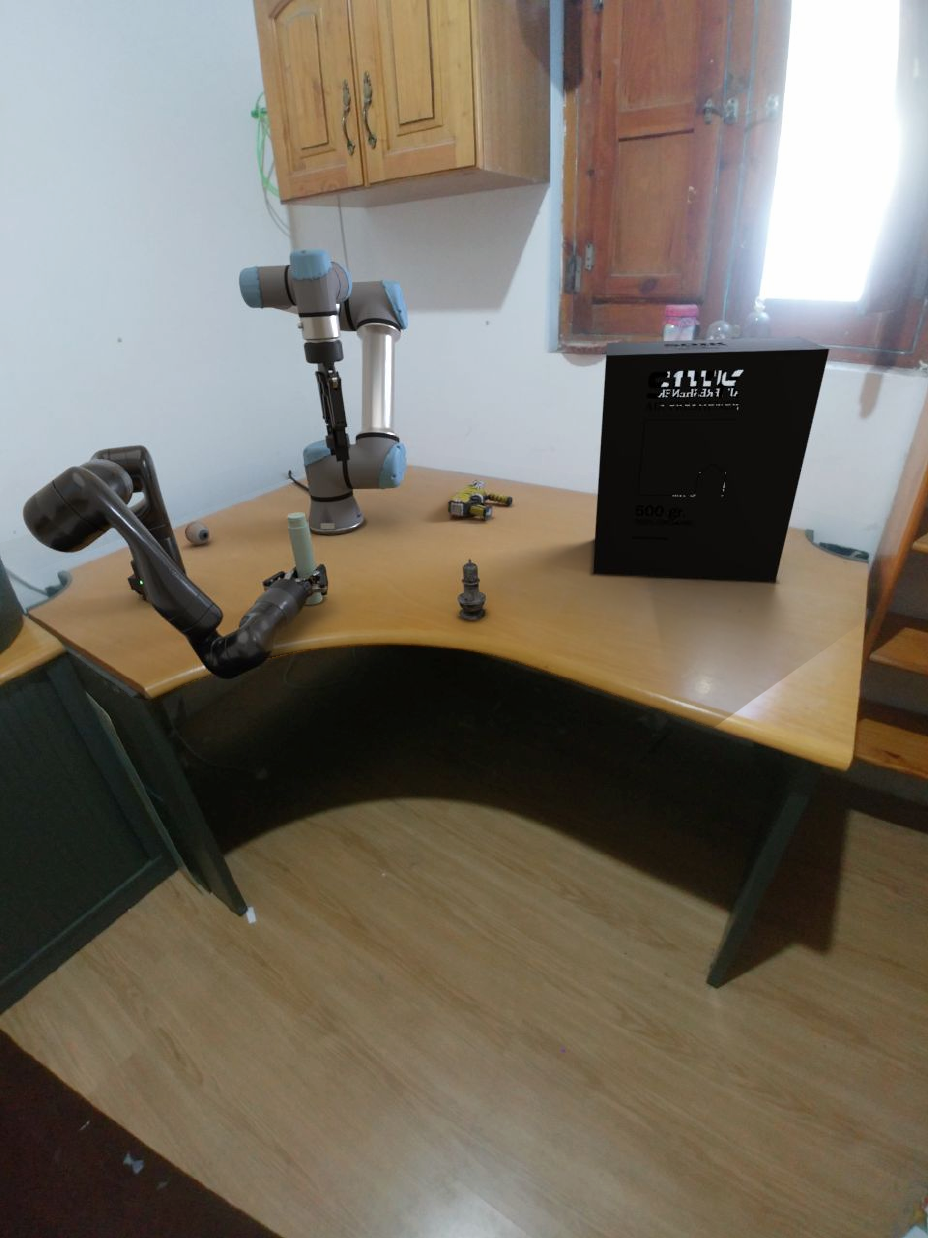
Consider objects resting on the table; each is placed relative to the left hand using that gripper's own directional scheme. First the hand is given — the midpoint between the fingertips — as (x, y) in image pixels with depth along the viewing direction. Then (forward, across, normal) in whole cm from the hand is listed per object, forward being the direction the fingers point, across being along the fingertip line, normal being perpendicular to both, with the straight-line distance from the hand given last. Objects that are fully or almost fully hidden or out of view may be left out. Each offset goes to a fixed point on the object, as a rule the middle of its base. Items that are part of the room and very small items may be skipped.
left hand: (312, 567), depth 130 cm
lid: (+14, -4, -24) cm, 29 cm away
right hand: (+14, -4, -20) cm, 25 cm away
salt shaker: (-6, -36, +6) cm, 37 cm away
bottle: (-3, 0, +6) cm, 7 cm away
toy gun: (+57, -30, +6) cm, 64 cm away
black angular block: (+23, -79, +6) cm, 82 cm away
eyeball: (+26, +43, +6) cm, 51 cm away
